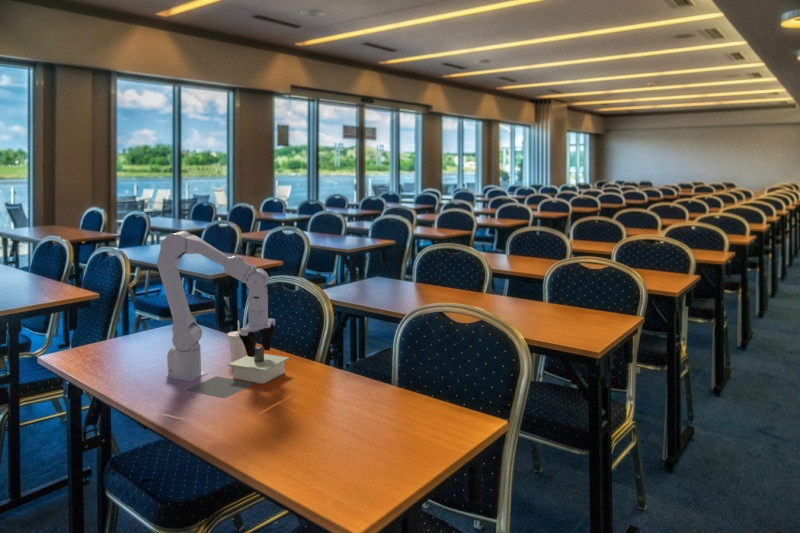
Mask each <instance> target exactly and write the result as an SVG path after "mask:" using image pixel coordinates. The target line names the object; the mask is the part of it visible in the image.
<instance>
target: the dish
mask: <svg viewBox="0 0 800 533" xmlns="http://www.w3.org/2000/svg"><path fill="white" fill-rule="evenodd" d="M285 371H286V370H285V362H283V363H281V364H279V365H278V366H276V367H274V368H272V369H270V370H268V371H266V372H263V371H257V370H250V369H244V368H238V367H232V378H233V380H238V381H244V382H249V383H254V384H255V383H256V384H262V385H263V384H266V383H268V382H270V381H272V380H274V379H276V378H278V377H280V376H283V375H284V374H285Z"/></svg>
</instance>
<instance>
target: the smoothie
mask: <svg viewBox="0 0 800 533" xmlns="http://www.w3.org/2000/svg"><path fill="white" fill-rule="evenodd" d="M240 327H241V324H240V320H237V330H235V331H230V332H227V335H226V338H227V339H228V346H229V352H230V358H231V363H232V362H234V361H236V360H238V359H240V358H242V357H245V353H246V349H245V346H244V344H243V342H242V340H241V339H240V337H239V334H240V329H241V328H240Z"/></svg>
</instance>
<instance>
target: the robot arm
mask: <svg viewBox="0 0 800 533" xmlns="http://www.w3.org/2000/svg"><path fill="white" fill-rule="evenodd" d="M186 254H187V255H191V254H192V255H193V254H194V255H195V254H197V255H201V256H202V257H205V258H206V259H209V260H210V261H212V262H215V263H216V264H218V265H219V266H222V268H223V270H224V272H225V274H228V275H230V276H231V277H232V278H235V279H236V280H238V281H240V282H241V283H243V284H245V286H246V287H247V288H248V295H247V296H248V298H247V299H248V300H247V301H248V303H247V304H248V310H247V311H248V312H247V313H248V323H247V324H246V325H244V327H241V328H240V334H239V337H240V339H241V340H242V342H243V344H244V346H245V353H246V356H248V357H254V356H255V347H257V341H258V338H259V335H257V334H254V333H255V332H258V331H259V333H260V336H261V338H260V339H261V347H264V351H270V350H271V348H272V342H273V339H274V337H275V334H276V332H277V330H278V329H277V328H278V327H277V326H276V319H275V318H270V317H269V313H268V312H269V306H268V305H269V295H268V286H267V285H268V283H269V280H270V276H269V274H268V273H267V272H268V271H266V270H264V269H263V268H258V266H256V265H255V264H254V265H252V264H250V263H249V262H247V261H245V260H244V257H242V256H237V255H233V256H228V255H227V254H226V253H224V252H222V251H221V250H219V249H217V248H216V247H214V246H213V245H211V244H210V243H208V242H207V241H205V240H203V239H202V238H201V237H199V236H198V235H195V234H192V233H190V232H188V231H187V230H180V231H177V232H174V233H170V234H168V235H166V236H165V238H164V239H163V240H162V241H161V243H160V249H159V254H158V256H157V262H156V266H157V269H158V272H159V276H160V279H161V282H162V286H163V290H164V293H165V296H166V299H167V303H168V306H169V310H170V314H171V316H172V321H173V322H172V326H171V327H172V328H171V331H172V338H171V339H172V345H173V346H171V348H169V350H168V353H167V358H166V359H167V361H166V362H167V374H165V377H166V378H171V379H176V380H181V381H187V382H191V381H193V380H196V379H198V378H201V377H203V376H206V375H208V372H206V371H203V370H202V360H201V359H202V357H201V353H202V352H201V344H200V342H199V341H200V340H201V338H202V335H203V330H202V327H201V326H200V325H199V324H198V323H197V320H196V318H195V317H194V316H193V315H192V313H191V310H190V307H189V303H188V300H187V295H186V292H185V288H184V285H183V282H182V279H181V275H180V272H179V268H178V264H179V262H180V261H181V259H182V258H183V257H184V255H186Z"/></svg>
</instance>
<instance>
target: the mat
mask: <svg viewBox="0 0 800 533" xmlns="http://www.w3.org/2000/svg"><path fill="white" fill-rule="evenodd" d="M252 385H254V382H249V381H244V380H239V379H234V378H233V379H231V378H227V377H222V376H219V375H218V376H217V375H216V376H213V377H211V378H209V379H206V380H205V381H202V382H200V383H197V384H195V385H193V386H191V387H189V388H186V389H185V391H188V392H193V393H196V394H197V393H198V394H203V395H208V396H210V397H211V396H212V397H217V398H221V399H226V398H228V397H230V396H232V395H233V394H236V393H238V392H240V391H243V390H244V389H246V388H248V387H250V386H252Z"/></svg>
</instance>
